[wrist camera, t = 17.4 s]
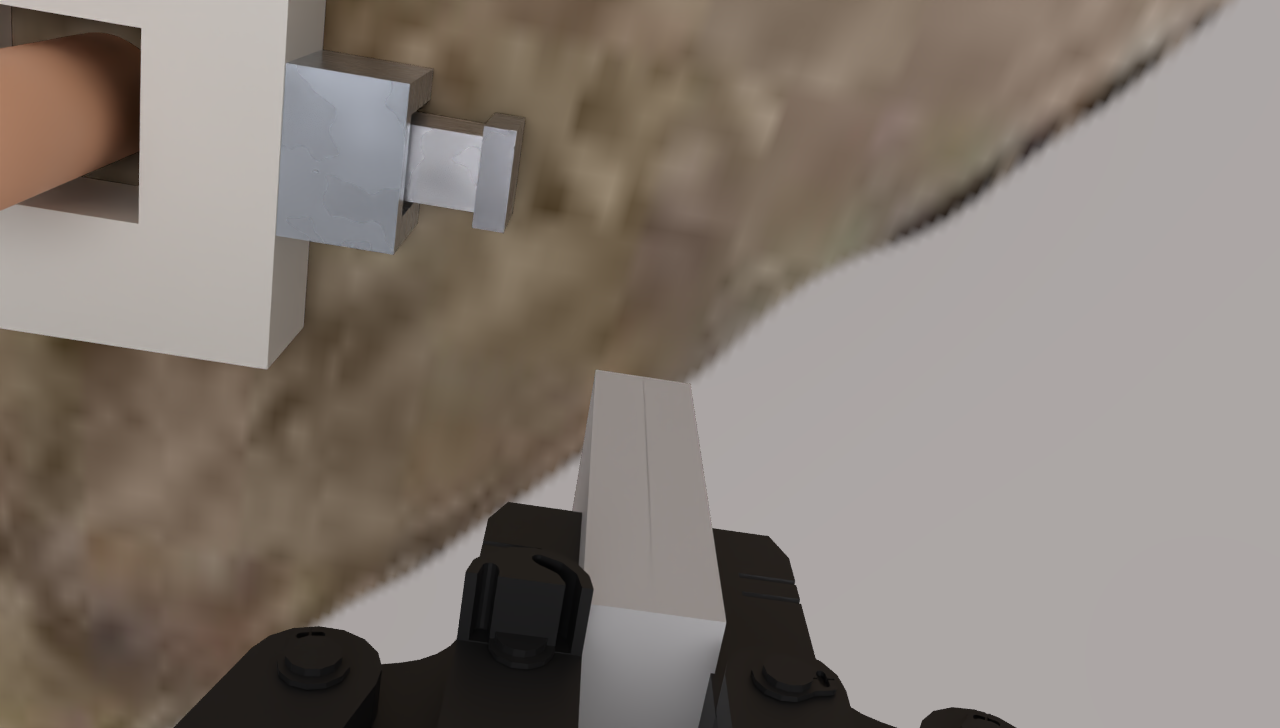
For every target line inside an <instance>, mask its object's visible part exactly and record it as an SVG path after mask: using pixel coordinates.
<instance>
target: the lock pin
mask: <svg viewBox="0 0 1280 728" xmlns="http://www.w3.org/2000/svg"><path fill="white" fill-rule="evenodd" d="M524 125H525V118H524V117H519V116H513V115H507V114H501V113H494V114H493V116H492V117H491V118H490V119H489V121H488V122H487V123H480V122H475V121H469V120H463V119H457V118H451V117H445V116H439V115H433V114H427V113H421V112H414V113H413V114H412V116H411V126H410V136H409V147H408V157H407V167H406V178H405V188H404V198H403V201H408V202H415V203H421V204H427V205H433V206H439V207H445V208H451V209H457V210H463V211H469V212H474V215H473V223H472V228H476V229H483V230H489V231H495V232H501V233H504V231H505V229H506V227H507V225H508V222H509V220H510V218H511V216H512V214H513V208H514V201H515V193H516V186H517V178H518V170H519V163H520V155H521V148H522V140H523V132H524Z"/></svg>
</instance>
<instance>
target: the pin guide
mask: <svg viewBox="0 0 1280 728" xmlns="http://www.w3.org/2000/svg"><path fill="white" fill-rule="evenodd" d="M433 70H434V69H433V68H427V67H421V66H415V65H409V64H403V63H398V62H392V61H386V60H380V59H374V58H368V57H363V56H357V55H351V54H345V53H339V52H333V51H328V50H320V51H317V52H315V53H312V54H309V55H306V56H304V57H301V58H298V59H295V60H293V61H290V62H287V63H286V69H285V86H284V103H283V121H282V138H281V155H280V172H279V190H278V207H277V224H276V236H281V237H287V238H294V239H300V240H306V241H312V242H318V243H325V244H331V245H337V246H343V247H349V248H356V249H362V250H368V251H374V252H380V253H387V254H393V255H394V253H395V252H396V251H397V249H398V248H399V247H400V246H401V244H402V243H403V242H404V240H405V239H406V238H407V236H408V235H409V234H410V233H411V231H412V230H413V229H414V227H415V226H416V225H417V223H418V216H419V206H420V203H415V202H408V201H403V198H404V188H405V178H406V167H407V157H408V147H409V136H410V126H411V116H412V114H413V113H414V112H415V111H416V110H418V109H419V108H420V107H422V106H423V105H424V104H425V103H427V102H428V101H429V100H430V99H431V89H432V79H433Z"/></svg>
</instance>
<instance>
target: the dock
mask: <svg viewBox="0 0 1280 728" xmlns="http://www.w3.org/2000/svg"><path fill="white" fill-rule="evenodd" d="M11 6H15V7H21V8H27V9H33V10H38V11H44V12H50V13H56V14H62V15H68V16H74V17H79V18H85V19H91V20H97V21H103V22H109V23H115V24H120V25H126V26H132V27H138V28H141V88H140V157H139V186H134V185H128V184H122V183H115V182H109V181H103V180H97V179H91V178H85V177H78V178H76V179H73V180H71V181H69V182H66V183H64V184H62V185H59V186H57V187H55V188H52V189H50V190H48V191H45V192H43V193H41V194H38V195H36V196H34V197H31V198H29V199H27V200H24V201H22V202H20V203H17V204H15V205H13V206H10V207H8V208H6V209H4V210H1V211H0V328H2V329H8V330H15V331H21V332H28V333H34V334H41V335H47V336H54V337H60V338H67V339H73V340H79V341H86V342H92V343H99V344H105V345H112V346H118V347H125V348H131V349H138V350H144V351H151V352H157V353H164V354H170V355H177V356H183V357H190V358H196V359H202V360H209V361H215V362H222V363H228V364H235V365H241V366H248V367H254V368H261V369H268V368H269V367H270V366H271V364H272V363H273V362H274V361H275V360H276V359H277V357H278V356H279V355H280V354H281V353H282V352H283V350H284V349H285V348H286V347H287V346H288V345H289V343H290V342H291V341H292V340H293V339H294V338H295V336H296V335H297V334H298V333H299V332H300V331H301V329H302V328H303V327H304V314H305V299H306V284H307V270H308V255H309V241H306V240H300V239H294V238H287V237H281V236H276V224H277V207H278V190H279V172H280V155H281V138H282V121H283V103H284V86H285V69H286V63H287V62H290V61H293V60H295V59H298V58H301V57H304V56H306V55H309V54H312V53H315V52H317V51H320V50H323V37H324V22H325V8H326V0H0V48H5V47H11V46H12V28H11Z"/></svg>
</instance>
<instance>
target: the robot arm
mask: <svg viewBox="0 0 1280 728" xmlns="http://www.w3.org/2000/svg"><path fill="white" fill-rule="evenodd" d="M794 584H795V579H794V576H793V572H792V568H791V565H790V561H789V558H788V557H787V556H786V555H785V554H784V553H783V551H782V550H781V549H780V548H779V547H778V546H777V545H776V544H775V543H774V542H773V541H772V539H771V538H770V537H769V536H762V535H756V534H748V533H742V532H735V531H727V530H721V529H714V528H712V524H711V518H710V511H709V504H708V497H707V491H706V484H705V477H704V471H703V464H702V458H701V451H700V444H699V438H698V431H697V424H696V418H695V411H694V404H693V398H692V391H691V384H688V383H681V382H675V381H668V380H662V379H655V378H648V377H642V376H635V375H629V374H622V373H615V372H609V371H602V370H596V371H595V377H594V383H593V389H592V395H591V401H590V407H589V413H588V419H587V425H586V431H585V437H584V443H583V449H582V456H581V462H580V468H579V474H578V480H577V486H576V492H575V498H574V504H573V510H572V511H567V510H560V509H553V508H546V507H539V506H532V505H525V504H518V503H511V502H508V503H506V504H505V505H504V506H503V507H502V508H501V509H499V510H498V511H497V512H496V513H495V514H493V515H492V516H491V517H490V518H489V519H488V522H487V527H486V531H485V536H484V541H483V545H482V549H481V553H480V557H478V558H476V559H474V560H473V561H472V563H471V565H470V566H469V568H468V569H467V571H466V574H465V581H464V589H463V597H462V604H461V612H460V619H459V628H458V635H457V640H456V641H455V642H454V643H453V644H452V645H451V646H449V647H448V648H446V649H444V650H443V651H441V652H439V653H438V654H435V655H432V656H429V657H427V658H423V659H421V660H415V661H409V662H403V663H392V664H381V662H380V658H379V655H378V652H377V651H376V650H375V649H374V648H373V647H372V646H371V645H370V644H369V643H368V642H367V641H366V640H365V639H363V638H360V637H358V636H356V635H353V634H351V633H349V632H346V631H345V630H339V629H333V628H326V627H320V626H318V627H304V628H292V629H289V630H286V631H283V632H280V633H277V634H273V635H270V636H268V637H267V638H266V639H264V640H263V641H261V642H260V643H258V644H257V645H255V646H254V647H252V648H251V649H250V650H249V651H248V652H247V653H246V654H245V655H244V656H243V657H242V658H241V659H240V660H239V661H238V662H237V664H236V665H235V666H234V667H233V668H232V669H231V670H230V671H229V672H228V673H227V674H226V675H225V676H224V677H223V678H222V679H221V680H220V681H219V682H218V683H217V684H216V685H215V686H214V687H213V688H212V689H211V690H210V691H209V692H208V693H207V694H206V695H205V696H204V697H203V698H202V699H201V700H200V701H199V702H198V703H197V704H196V705H195V706H194V707H193V708H192V709H191V710H190V711H189V712H188V713H187V714H186V716H185V717H184V718H183V719H182V720H181V721H180V722H179V723H178V724H177V725H176V726H175V727H174V728H896V727H893V726H891V725H888V724H885V723H882V722H879V721H877V720H875V719H872V718H870V717H867V716H865V715H863V714H861V713H860V712H858V711H856V710H855V709H853V708H851V706H850V703H849V700H848V696H847V692H846V690H845V688H844V686H843V685H842V683H841V681H840V679H839V678H838V676H837V675H836V674H835V673H834V672H833V671H832V670H830V669H829V668H828V667H827V666H826V665H824V664H823V663H822V662H821V661H819V660H816V658H815V655H814V651H813V647H812V644H811V640H810V636H809V632H808V628H807V625H806V621H805V617H804V613H803V609H802V606H801V604H799V601H800V598H799V594H798V591H797V587H796V585H794ZM920 728H1016V727H1014V726H1012V725H1011V724H1009V723H1007V722H1005V721H1004V720H1002V719H1000V718H998V717H996V716H993V715H991V714H986V713H985V712H981V711H977V710H972V709H963V708H954V707H951V708H946V709H941V710H937V711H933V712H932V713H931V714H930V715H928V716H927V717H926V718H925V719H924V720H922V723H921V726H920Z"/></svg>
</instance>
